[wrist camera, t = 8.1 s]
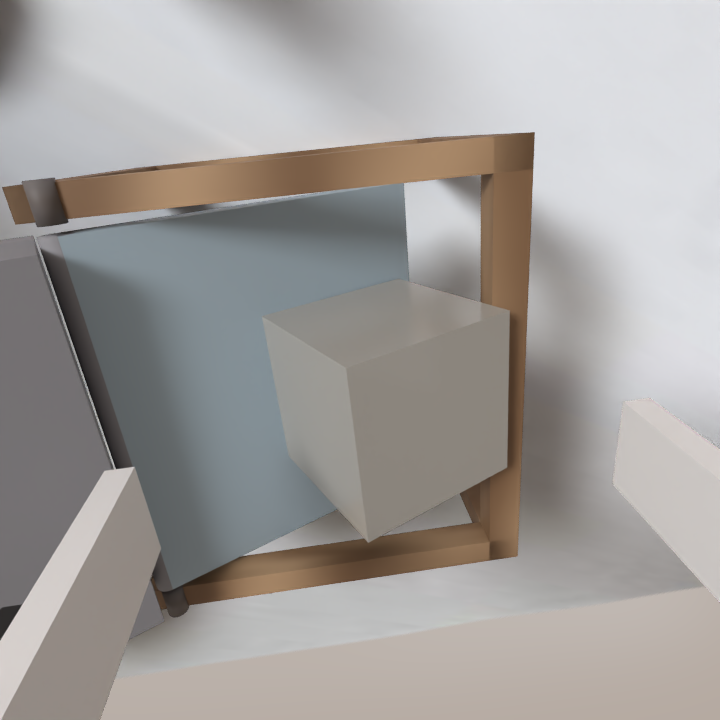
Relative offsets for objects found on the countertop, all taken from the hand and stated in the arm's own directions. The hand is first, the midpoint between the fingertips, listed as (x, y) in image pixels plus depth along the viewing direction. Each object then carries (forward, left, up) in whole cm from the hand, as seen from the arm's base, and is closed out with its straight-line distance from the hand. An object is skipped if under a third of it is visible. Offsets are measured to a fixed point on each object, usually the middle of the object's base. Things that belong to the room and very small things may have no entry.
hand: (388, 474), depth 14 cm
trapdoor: (-7, 0, -9) cm, 11 cm away
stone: (-1, 0, -8) cm, 8 cm away
